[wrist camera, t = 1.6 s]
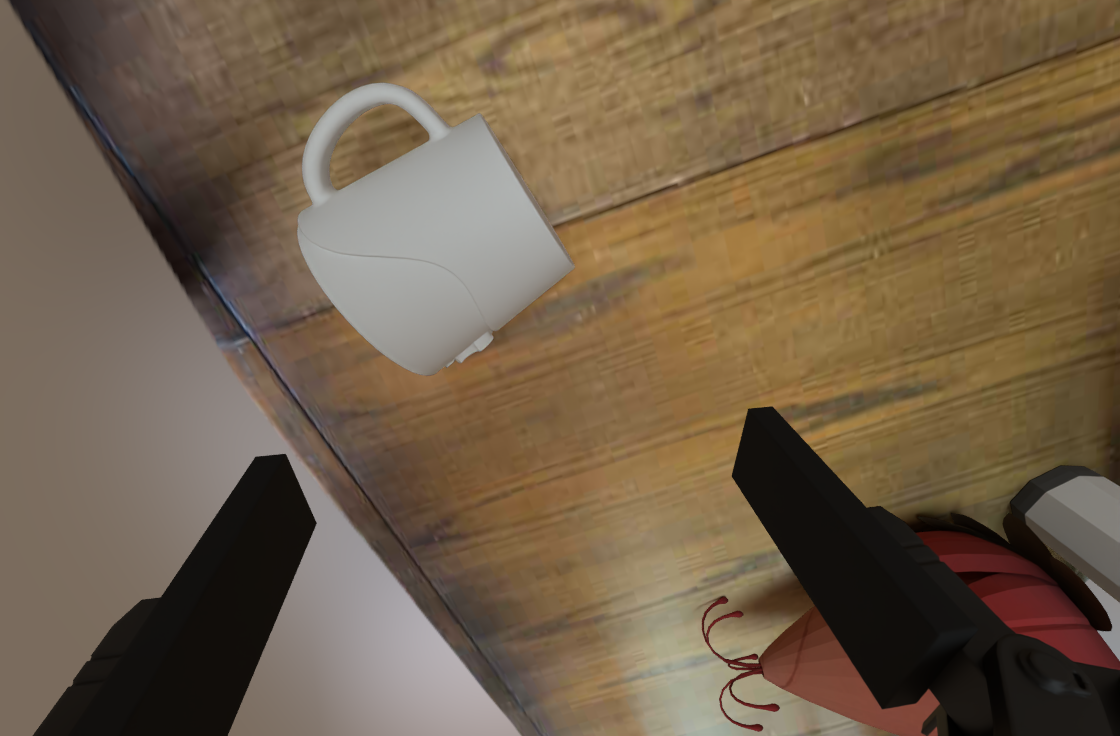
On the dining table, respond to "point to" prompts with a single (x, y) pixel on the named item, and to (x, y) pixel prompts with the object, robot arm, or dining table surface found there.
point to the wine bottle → (1076, 520)
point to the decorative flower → (991, 573)
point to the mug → (426, 236)
